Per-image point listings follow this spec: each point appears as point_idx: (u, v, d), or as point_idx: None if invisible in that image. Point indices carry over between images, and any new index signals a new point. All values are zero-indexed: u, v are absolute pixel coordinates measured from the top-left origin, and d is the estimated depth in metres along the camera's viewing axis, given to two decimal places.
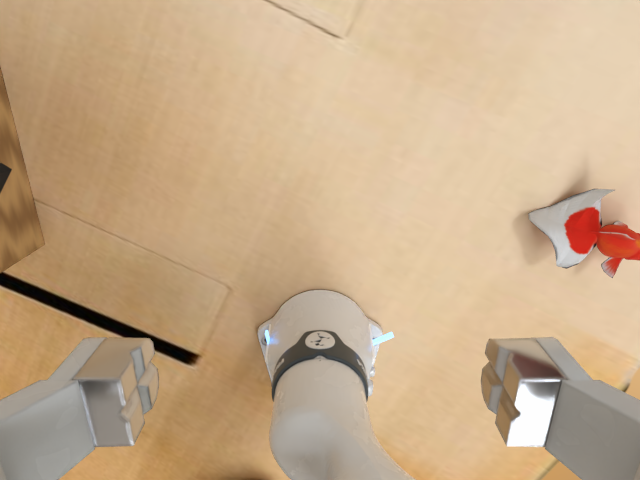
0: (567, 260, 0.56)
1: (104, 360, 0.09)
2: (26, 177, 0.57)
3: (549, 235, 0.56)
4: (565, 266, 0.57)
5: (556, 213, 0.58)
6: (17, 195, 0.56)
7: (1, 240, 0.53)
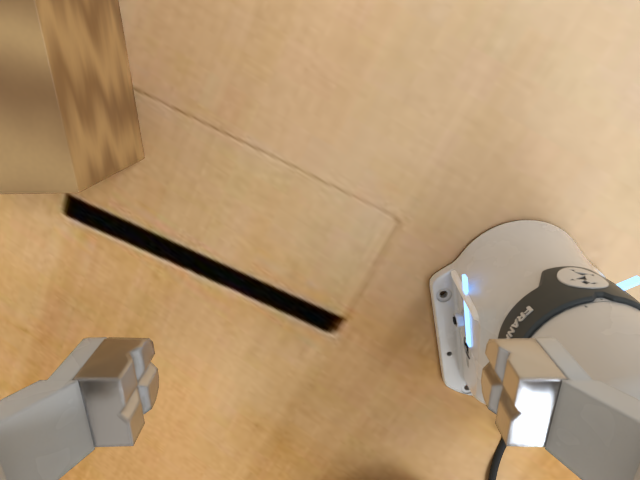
0: None
1: (104, 360, 0.09)
2: (125, 52, 0.39)
3: None
4: None
5: None
6: (117, 72, 0.38)
7: (101, 131, 0.35)
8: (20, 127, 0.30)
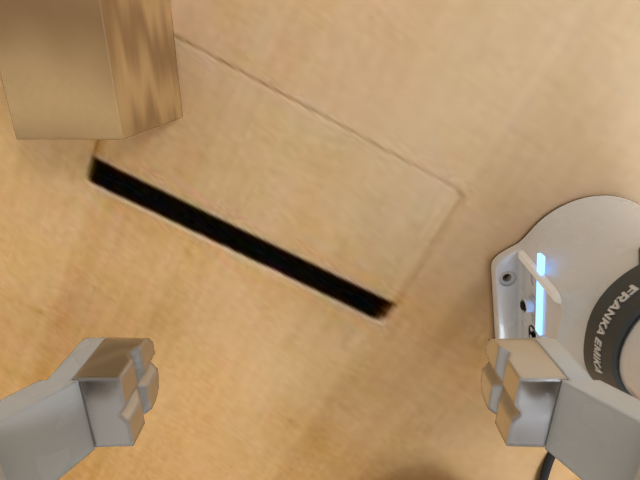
0: None
1: (104, 360, 0.09)
2: None
3: None
4: None
5: None
6: (159, 12, 0.33)
7: (145, 74, 0.30)
8: (56, 56, 0.25)
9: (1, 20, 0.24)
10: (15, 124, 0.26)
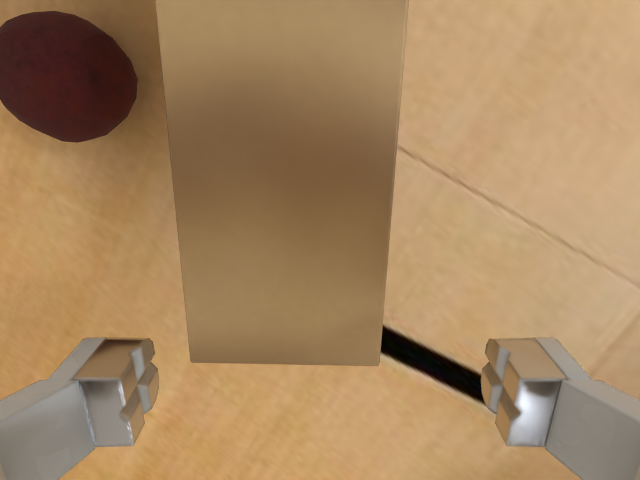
0: None
1: (104, 360, 0.09)
2: None
3: None
4: None
5: None
6: None
7: None
8: (292, 237, 0.13)
9: (200, 175, 0.13)
10: (194, 341, 0.15)
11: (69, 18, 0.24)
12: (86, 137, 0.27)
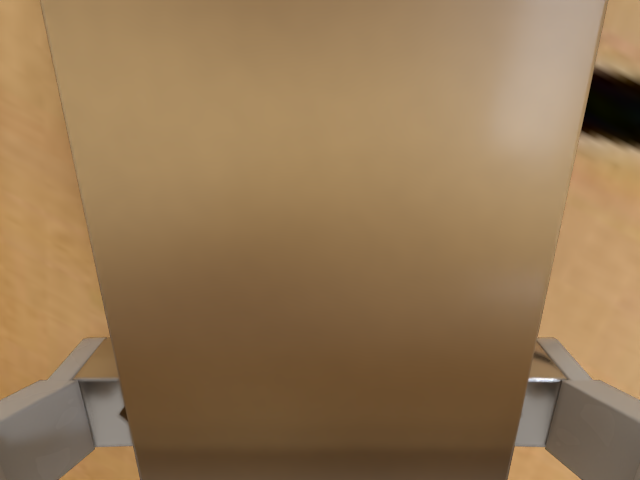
0: None
1: (104, 360, 0.09)
2: None
3: None
4: None
5: None
6: None
7: None
8: (338, 477, 0.08)
9: (172, 393, 0.07)
10: None
11: None
12: None
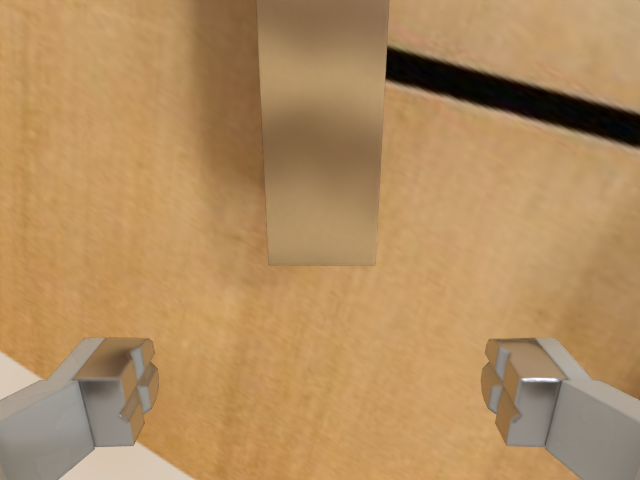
0: None
1: (104, 360, 0.09)
2: None
3: None
4: None
5: None
6: None
7: None
8: (326, 190, 0.25)
9: (278, 158, 0.24)
10: (271, 252, 0.26)
11: None
12: None
